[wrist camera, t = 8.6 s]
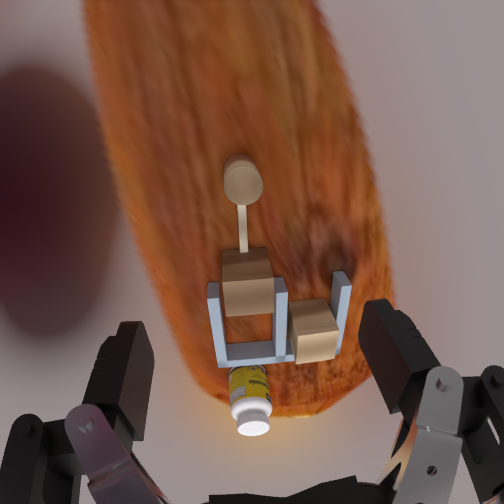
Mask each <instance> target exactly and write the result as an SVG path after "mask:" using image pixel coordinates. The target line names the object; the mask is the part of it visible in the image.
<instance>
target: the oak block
mask: <svg viewBox="0 0 504 504" xmlns="http://www.w3.org/2000/svg"><path fill="white" fill-rule="evenodd" d="M339 331H340V330H339V328H338V325H337V323H336V321H335V319H334V317H333V314H332V312H331V310H330V308H329V306H328V303H327V301H326V299H325V298H319V299H311V300H301V301H292V302H288V318H287V332H288V336H289V339H290V343H291V347H292V351H293V355H294V359H295V362H296V364H301V363H308V362H315V361H322V360H328V359H334V357H335V352H336V347H337V342H338V337H339Z"/></svg>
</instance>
